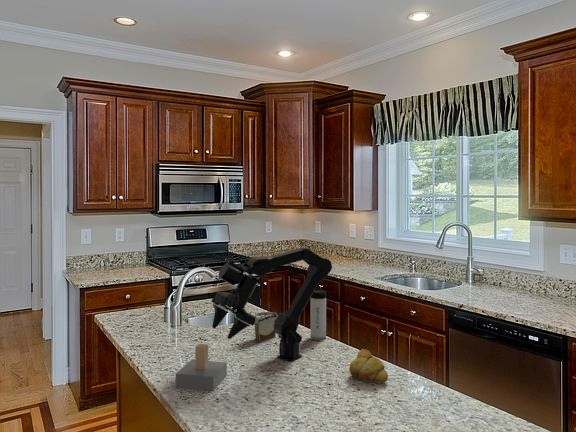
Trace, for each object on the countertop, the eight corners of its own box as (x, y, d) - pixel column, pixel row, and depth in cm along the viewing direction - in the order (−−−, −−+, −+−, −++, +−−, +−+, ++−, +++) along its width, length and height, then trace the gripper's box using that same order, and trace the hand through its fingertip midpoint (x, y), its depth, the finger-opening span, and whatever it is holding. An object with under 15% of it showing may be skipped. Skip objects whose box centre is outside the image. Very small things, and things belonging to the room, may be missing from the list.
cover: (226, 375, 151) (226, 341, 151) (213, 391, 140) (213, 353, 139) (191, 372, 154) (191, 338, 153) (175, 387, 142) (175, 350, 142)
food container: (266, 333, 197) (266, 310, 196) (277, 336, 193) (277, 312, 192) (246, 340, 187) (245, 316, 186) (257, 344, 183) (257, 318, 183)
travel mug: (317, 334, 196) (317, 286, 194) (329, 337, 191) (329, 289, 190) (306, 337, 191) (306, 289, 190) (318, 341, 186) (319, 291, 185)
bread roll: (394, 382, 147) (394, 356, 147) (372, 389, 141) (373, 363, 141) (364, 369, 157) (364, 345, 157) (343, 376, 151) (343, 351, 151)
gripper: (212, 274, 161) (189, 315, 158) (244, 291, 147) (219, 336, 144) (233, 286, 168) (212, 325, 165) (266, 303, 155) (243, 347, 152)
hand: (220, 333), depth 157 cm, fingers open, 9 cm apart
